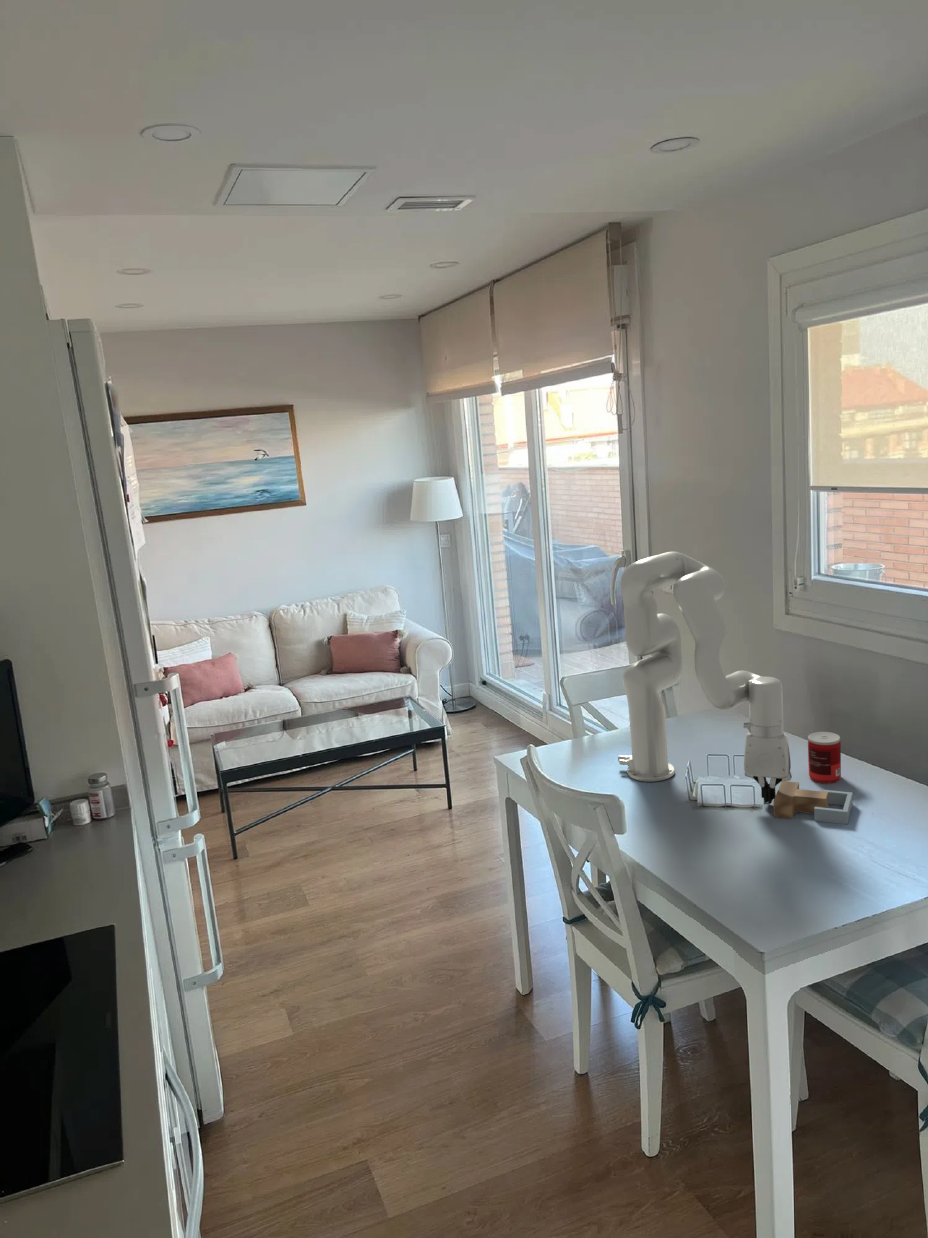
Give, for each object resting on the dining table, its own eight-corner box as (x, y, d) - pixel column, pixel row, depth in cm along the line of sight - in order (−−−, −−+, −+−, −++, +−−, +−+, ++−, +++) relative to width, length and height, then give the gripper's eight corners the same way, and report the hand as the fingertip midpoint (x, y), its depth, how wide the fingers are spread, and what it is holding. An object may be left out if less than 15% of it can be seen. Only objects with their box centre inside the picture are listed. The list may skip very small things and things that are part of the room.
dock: (814, 820, 206) (814, 808, 205) (821, 801, 215) (820, 789, 215) (847, 824, 203) (847, 812, 202) (852, 804, 212) (852, 792, 211)
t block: (774, 816, 210) (773, 801, 209) (782, 796, 220) (781, 781, 219) (824, 822, 205) (823, 806, 204) (830, 800, 215) (829, 785, 214)
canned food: (835, 770, 231) (834, 730, 229) (845, 783, 224) (844, 741, 221) (804, 772, 232) (804, 732, 230) (813, 784, 225) (812, 743, 222)
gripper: (730, 732, 212) (733, 803, 216) (797, 737, 205) (798, 811, 209) (737, 721, 219) (740, 791, 223) (802, 726, 211) (803, 798, 215)
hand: (768, 800), depth 216 cm, fingers closed
